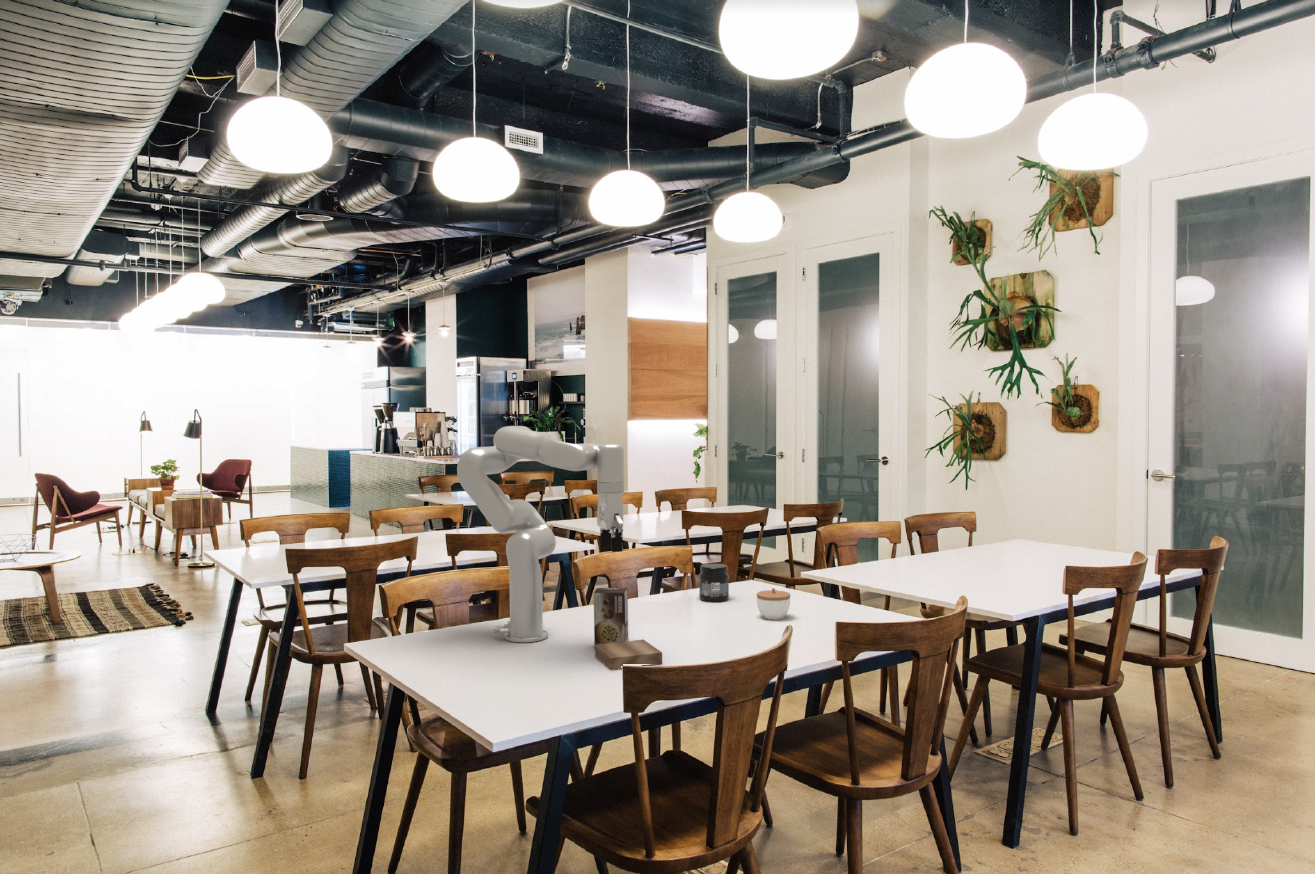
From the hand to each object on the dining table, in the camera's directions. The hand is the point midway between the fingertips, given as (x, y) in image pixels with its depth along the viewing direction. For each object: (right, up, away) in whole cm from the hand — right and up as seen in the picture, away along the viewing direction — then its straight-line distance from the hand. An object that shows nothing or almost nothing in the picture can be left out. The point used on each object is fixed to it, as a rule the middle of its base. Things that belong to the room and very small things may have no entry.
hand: (611, 549), depth 236 cm
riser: (+5, -28, -12) cm, 31 cm away
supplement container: (+33, -26, +62) cm, 75 cm away
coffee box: (0, -28, +1) cm, 28 cm away
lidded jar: (+50, -27, +34) cm, 66 cm away
